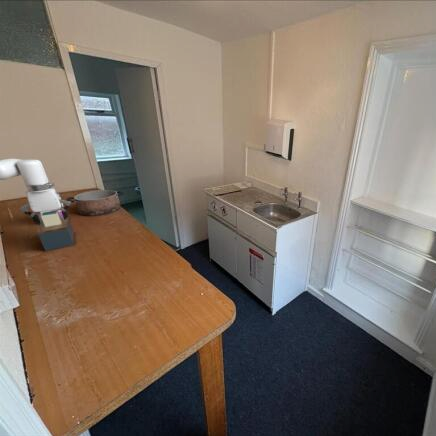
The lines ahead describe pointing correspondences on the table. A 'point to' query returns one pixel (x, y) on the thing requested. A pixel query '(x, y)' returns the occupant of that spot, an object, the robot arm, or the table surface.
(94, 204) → the cooking pot
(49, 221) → the cube
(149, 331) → the table surface
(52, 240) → the grey box shape
